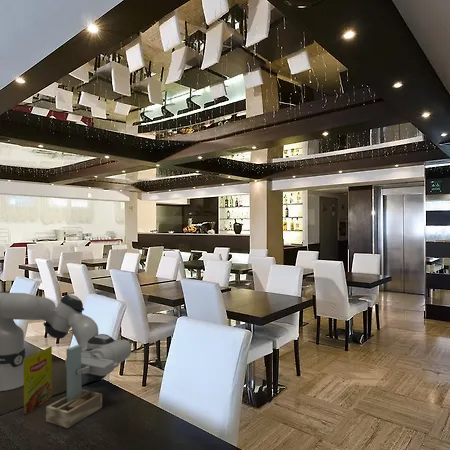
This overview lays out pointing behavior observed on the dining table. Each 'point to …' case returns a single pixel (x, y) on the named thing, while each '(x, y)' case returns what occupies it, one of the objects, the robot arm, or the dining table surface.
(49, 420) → the slot rack
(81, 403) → the upper offcut
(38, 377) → the food package
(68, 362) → the blue-grey rectangular bar
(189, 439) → the dining table surface
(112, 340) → the robot arm
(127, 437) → the dining table surface
